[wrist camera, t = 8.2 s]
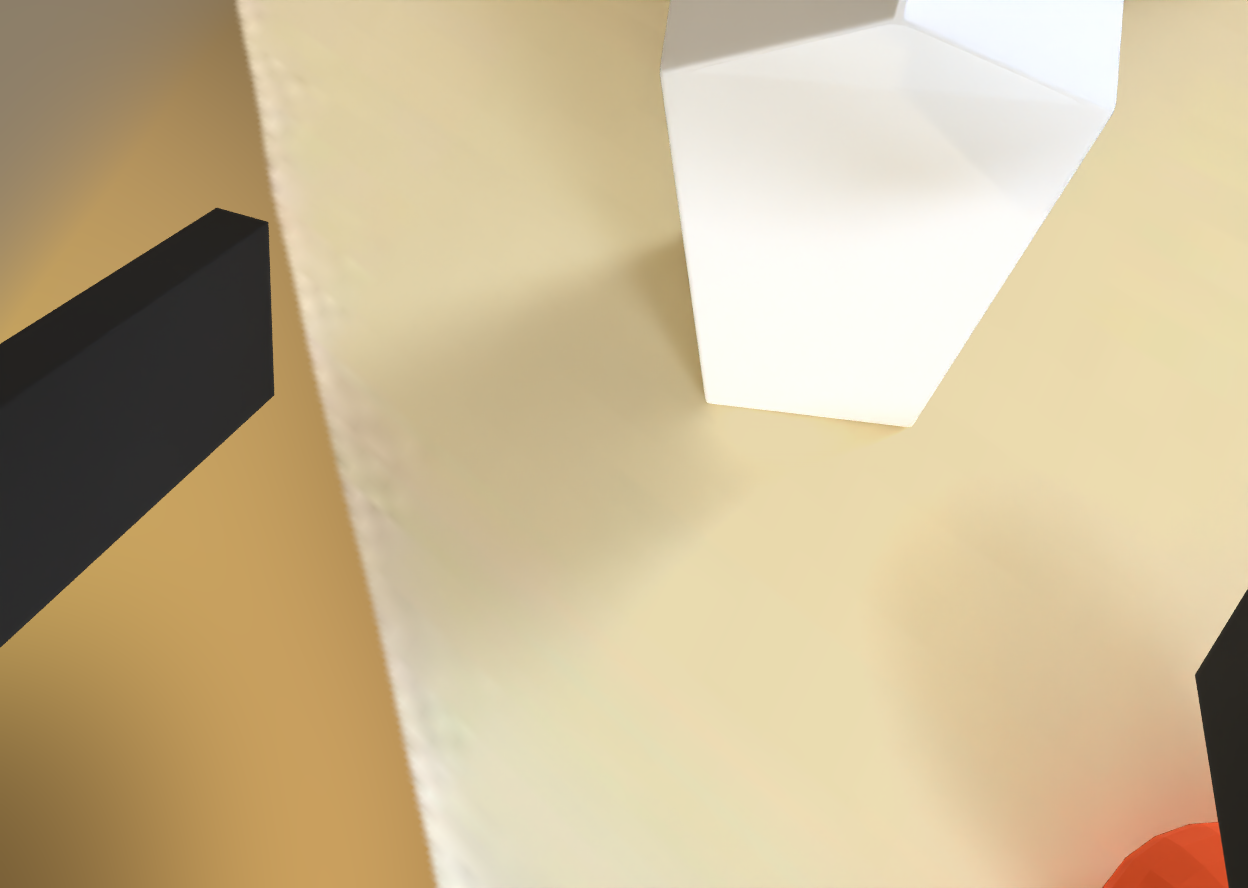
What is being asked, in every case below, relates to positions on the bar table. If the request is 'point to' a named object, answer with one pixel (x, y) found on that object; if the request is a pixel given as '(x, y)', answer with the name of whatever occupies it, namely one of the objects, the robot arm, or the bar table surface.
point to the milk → (868, 181)
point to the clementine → (1175, 861)
